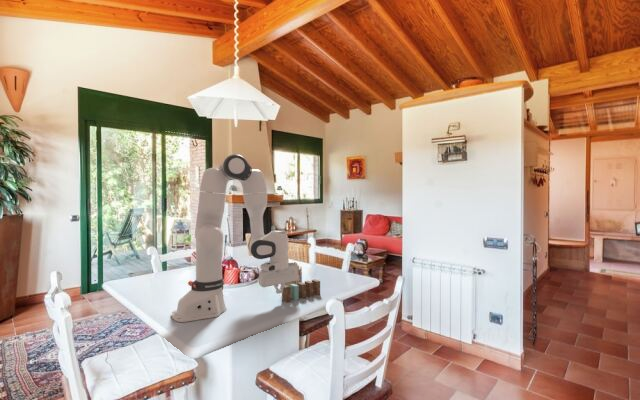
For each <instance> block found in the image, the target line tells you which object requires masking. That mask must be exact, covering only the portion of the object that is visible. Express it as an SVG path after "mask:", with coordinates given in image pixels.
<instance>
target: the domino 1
mask: <svg viewBox="0 0 640 400" xmlns="http://www.w3.org/2000/svg"><path fill="white" fill-rule="evenodd" d="M281 300H282V301H283V302H284V303H291V302H292V301H291V300H292V299H291V287H289V286H286V285H285V287H284V289H283V293H281Z"/></svg>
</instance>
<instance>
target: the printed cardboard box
mask: <svg viewBox="0 0 640 400" xmlns="http://www.w3.org/2000/svg"><path fill="white" fill-rule="evenodd" d="M298 275H299V278H298V280H297V281H293V282H288V283H285V285H286V286H289V287H290V284H296V285H297V283H299V282H302V283H303V281H302V280H303V272H302V266H300V265H299V264H298Z"/></svg>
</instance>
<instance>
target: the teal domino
mask: <svg viewBox="0 0 640 400" xmlns="http://www.w3.org/2000/svg"><path fill="white" fill-rule="evenodd" d="M290 287H291V300H292V301H295V302H296V301H298V300H299V299H300V298H299V290H298V285H296V284H290Z"/></svg>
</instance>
